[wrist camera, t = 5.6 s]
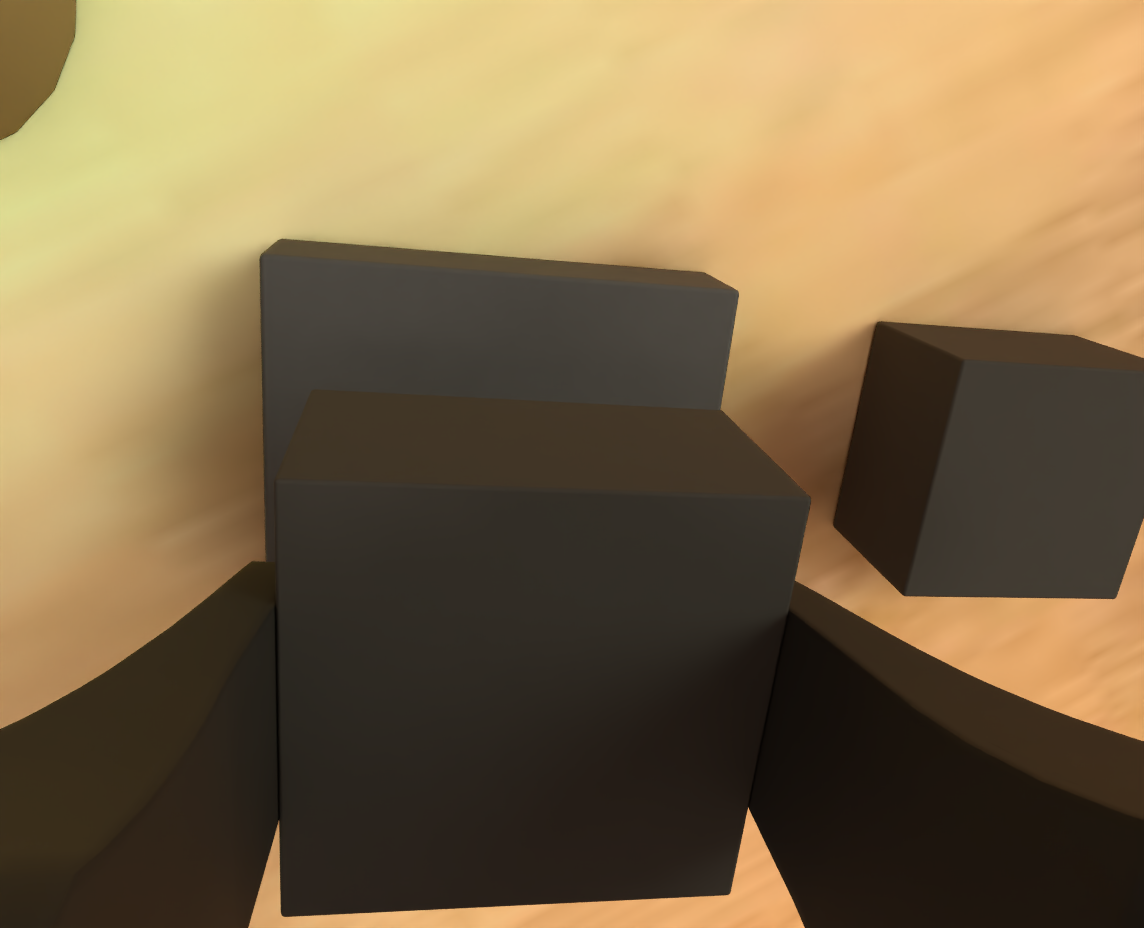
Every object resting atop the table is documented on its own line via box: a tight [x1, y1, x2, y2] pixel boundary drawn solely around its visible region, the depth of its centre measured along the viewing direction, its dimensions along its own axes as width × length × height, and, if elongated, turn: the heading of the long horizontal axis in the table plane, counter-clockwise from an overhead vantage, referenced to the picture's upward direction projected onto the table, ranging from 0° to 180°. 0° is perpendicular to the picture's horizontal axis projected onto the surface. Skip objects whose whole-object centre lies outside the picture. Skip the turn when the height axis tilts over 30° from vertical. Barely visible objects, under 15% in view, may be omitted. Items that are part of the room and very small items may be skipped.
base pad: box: [260, 239, 739, 562], centre depth 17 cm, size 8×8×2 cm
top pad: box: [833, 322, 1144, 599], centre depth 18 cm, size 5×5×3 cm
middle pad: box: [274, 389, 811, 917], centre depth 12 cm, size 6×6×3 cm
